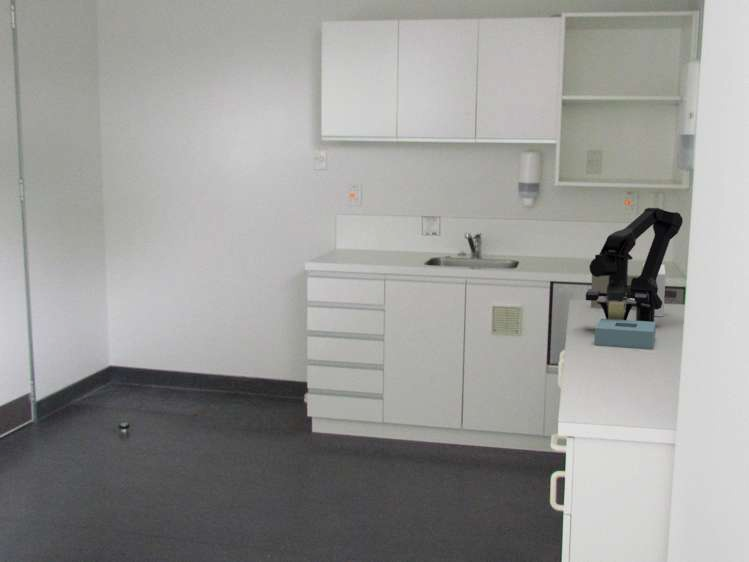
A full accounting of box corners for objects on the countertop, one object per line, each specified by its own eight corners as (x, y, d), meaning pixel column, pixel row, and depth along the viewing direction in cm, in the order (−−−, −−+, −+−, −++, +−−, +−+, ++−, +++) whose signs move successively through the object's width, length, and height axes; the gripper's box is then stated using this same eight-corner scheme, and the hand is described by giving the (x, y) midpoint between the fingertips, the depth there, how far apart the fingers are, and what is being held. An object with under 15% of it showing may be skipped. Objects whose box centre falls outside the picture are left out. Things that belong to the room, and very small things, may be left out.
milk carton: (663, 317, 272) (666, 262, 269) (642, 316, 273) (644, 262, 271) (660, 313, 279) (662, 260, 276) (639, 312, 280) (641, 260, 278)
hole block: (600, 334, 243) (601, 318, 243) (655, 338, 237) (655, 321, 237) (594, 344, 229) (595, 328, 228) (652, 349, 223) (653, 331, 222)
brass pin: (609, 329, 251) (610, 301, 250) (624, 330, 249) (625, 302, 248) (607, 332, 247) (608, 303, 246) (622, 333, 245) (624, 304, 244)
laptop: (642, 306, 296) (643, 271, 295) (641, 311, 285) (643, 276, 283) (593, 303, 302) (594, 270, 301) (590, 308, 291) (591, 274, 289)
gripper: (584, 276, 242) (582, 325, 244) (648, 279, 235) (645, 330, 237) (588, 272, 252) (587, 319, 254) (650, 274, 245) (647, 323, 247)
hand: (616, 323), depth 248 cm, fingers closed on brass pin, 5 cm apart
